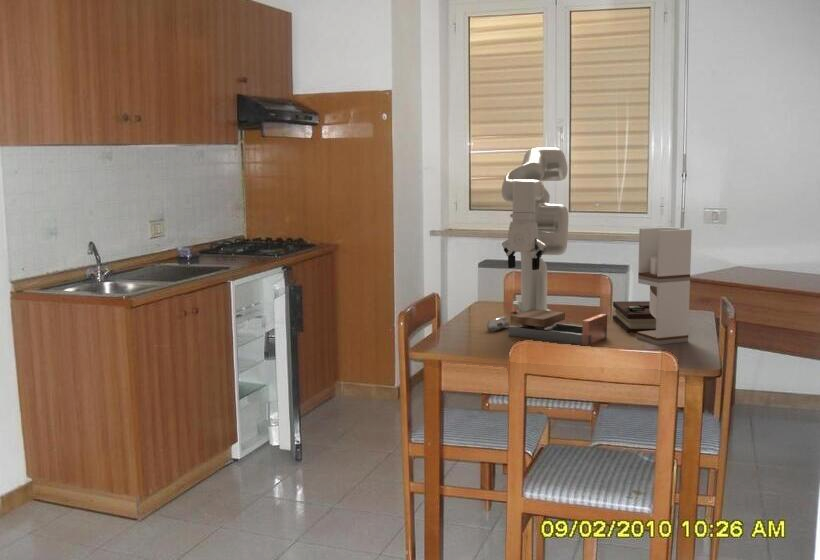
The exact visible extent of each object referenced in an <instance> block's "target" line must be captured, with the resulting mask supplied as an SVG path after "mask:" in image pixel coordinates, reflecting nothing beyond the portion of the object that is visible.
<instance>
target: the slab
mask: <svg viewBox="0 0 820 560" xmlns="http://www.w3.org/2000/svg"><path fill="white" fill-rule="evenodd" d="M564 320H566V312H565V311H554V310H551V311H546V310H536V309H531V310H528V311H525V312H522V313H518V314H517V313H516V314H511V315H510V324H516V325H520V324H523V325H532V326H540V327H545V326H548V325H551V324H553V323H560V322H562V321H564Z"/></svg>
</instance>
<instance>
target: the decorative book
mask: <svg viewBox="0 0 820 560" xmlns="http://www.w3.org/2000/svg"><path fill="white" fill-rule="evenodd" d="M649 307H650V300H647V301H646V300H643V301H641V300H640V301H632V300H631V301H629V300H628V301H623V300H621V301H612V308H615V309H612V312H614V313H615V315H612V320H613V321H614V322H615V323H616V324H617V325H618V326H619V327H620V328H622V329H623V330H624V331H625V332H626V333H627V334H637V332H641V331H652V330H656V318H654V317H653V316H652V315H651V313H650V310H649Z"/></svg>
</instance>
